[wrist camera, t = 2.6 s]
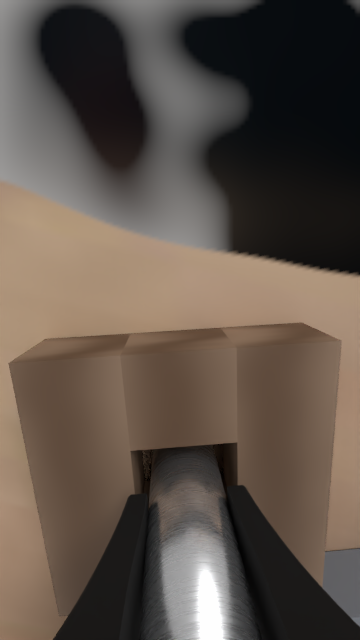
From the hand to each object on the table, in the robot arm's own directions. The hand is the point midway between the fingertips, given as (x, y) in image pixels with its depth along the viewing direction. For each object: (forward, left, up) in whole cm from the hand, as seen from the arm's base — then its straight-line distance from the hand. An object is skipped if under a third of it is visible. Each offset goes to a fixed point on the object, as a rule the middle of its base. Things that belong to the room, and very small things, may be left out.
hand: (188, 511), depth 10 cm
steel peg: (0, 0, -4) cm, 4 cm away
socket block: (0, 0, -4) cm, 4 cm away
